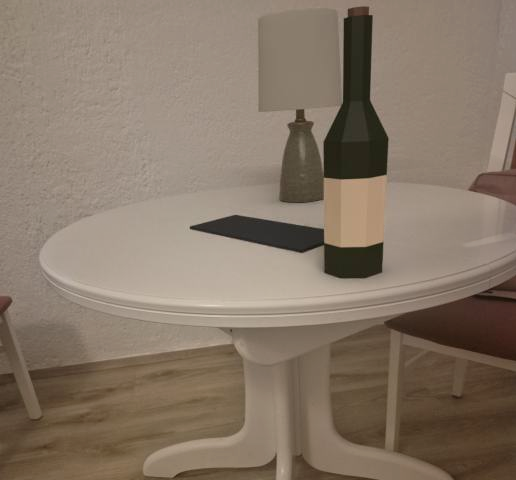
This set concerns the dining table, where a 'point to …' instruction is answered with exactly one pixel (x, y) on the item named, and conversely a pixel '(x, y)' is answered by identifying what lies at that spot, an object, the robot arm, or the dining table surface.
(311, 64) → the lamp
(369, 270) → the wine bottle
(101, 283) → the dining table surface
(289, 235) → the mat
